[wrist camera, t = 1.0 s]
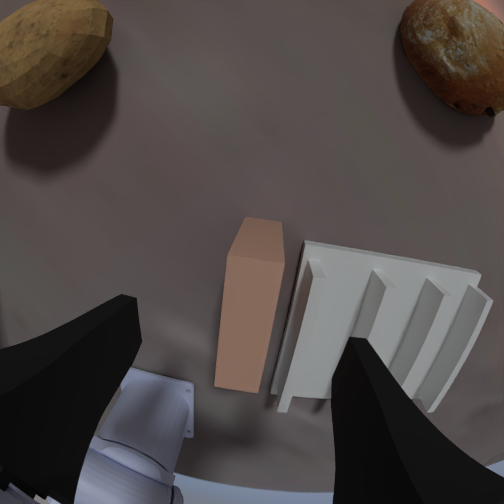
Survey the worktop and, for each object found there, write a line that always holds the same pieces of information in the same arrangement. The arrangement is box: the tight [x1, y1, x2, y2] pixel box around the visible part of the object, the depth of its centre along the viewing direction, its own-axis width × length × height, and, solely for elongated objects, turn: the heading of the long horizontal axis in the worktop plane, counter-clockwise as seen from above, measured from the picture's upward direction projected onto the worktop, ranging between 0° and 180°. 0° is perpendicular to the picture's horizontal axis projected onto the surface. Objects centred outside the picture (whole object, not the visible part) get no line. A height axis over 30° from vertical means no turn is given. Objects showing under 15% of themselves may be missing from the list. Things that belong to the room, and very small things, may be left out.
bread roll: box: [401, 0, 504, 117], centre depth 13 cm, size 10×10×8 cm
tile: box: [214, 217, 285, 393], centre depth 18 cm, size 8×2×8 cm, turn 172°
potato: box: [0, 0, 113, 110], centre depth 13 cm, size 10×14×8 cm
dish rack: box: [271, 240, 493, 413], centre depth 21 cm, size 14×16×4 cm
